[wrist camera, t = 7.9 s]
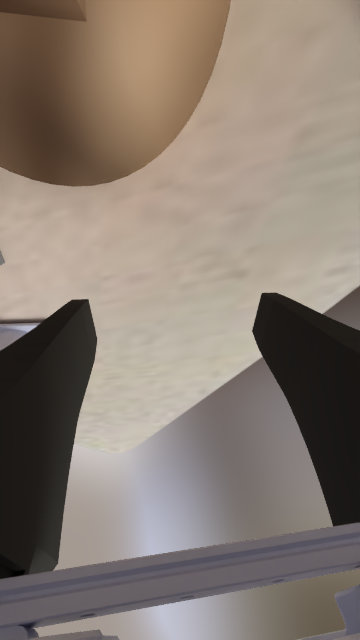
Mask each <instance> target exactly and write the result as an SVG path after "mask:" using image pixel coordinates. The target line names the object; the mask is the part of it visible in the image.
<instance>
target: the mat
mask: <svg viewBox="0 0 360 640" xmlns="http://www.w3.org/2000/svg"><path fill="white" fill-rule="evenodd" d="M3 263H5V261H4V259H3V256H2V254H1V251H0V265H2V264H3Z"/></svg>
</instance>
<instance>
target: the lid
mask: <svg viewBox="0 0 360 640" xmlns="http://www.w3.org/2000/svg"><path fill="white" fill-rule="evenodd" d="M230 1H231V0H0V167H2V168H4V169H6V170H8V171H10V172H13V173H16V174H19V175H21V176H24V177H27V178H30V179H32V180H37V181H41V182H45V183H49V184H55V185H64V186H92V185H98V184H103V183H108V182H112V181H114V180H117V179H120V178H123V177H126V176H128V175H130V174H132V173H133V172H135V171H137V170H139V169H141V168H143V167H144V166H146V165H147V164H148V163H149V162H151V161H152V160H153V159H155V158H156V157H157V156H159V155H160V154H161V153H162V152H163V151H164V150H165V149H166V148H167V147H168V146H169V145H170V144H171V143H172V142H173V141H174V139H175V138H176V137H177V135H178V134H179V133H180V131H181V130H182V129H183V127H184V126H185V125H186V123H187V122H188V120H189V119H190V117H191V115H192V114H193V112H194V110H195V108H196V107H197V105H198V103H199V101H200V100H201V97H202V95H203V93H204V90H205V88H206V86H207V84H208V81H209V79H210V77H211V75H212V72H213V68H214V65H215V62H216V59H217V56H218V53H219V50H220V47H221V44H222V39H223V35H224V31H225V26H226V22H227V17H228V13H229V8H230Z"/></svg>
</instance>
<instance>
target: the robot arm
mask: <svg viewBox="0 0 360 640" xmlns="http://www.w3.org/2000/svg"><path fill="white" fill-rule="evenodd" d="M252 332H253V335H254V337H255V340H256V343H257V345H258V348H259V350H260V352H261V354H262V356H263V358H264V359H265V361H266V363H267V365H268V366H269V368H270V370H271V372H272V373H273V375H274V377H275V379H276V380H277V382H278V384H279V386H280V387H281V389H282V391H283V393H284V395H285V397H286V399H287V401H288V403H289V405H290V407H291V409H292V412H293V414H294V416H295V419H296V421H297V423H298V425H299V428H300V431H301V433H302V436H303V438H304V441H305V443H306V445H307V448H308V451H309V454H310V456H311V459H312V462H313V465H314V468H315V470H316V473H317V476H318V479H319V482H320V485H321V488H322V491H323V494H324V498H325V501H326V504H327V507H328V510H329V514H330V517H331V520H332V524H333V527H327V528H321V529H316V530H308V531H303V532H296V533H289V534H283V535H277V536H271V537H265V538H259V539H251V540H245V541H239V542H233V543H226V544H220V545H213V546H207V547H201V548H194V549H188V550H182V551H176V552H169V553H163V554H156V555H150V556H144V557H137V558H132V559H125V560H118V561H112V562H106V563H99V564H93V565H87V566H81V567H74V568H68V569H62V570H55V571H53V570H54V568H55V567H56V565H57V564H58V558H59V547H60V539H61V530H62V521H63V512H64V505H65V498H66V490H67V483H68V475H69V469H70V462H71V456H72V450H73V444H74V438H75V433H76V427H77V421H78V417H79V413H80V409H81V406H82V402H83V399H84V395H85V392H86V388H87V385H88V381H89V378H90V374H91V371H92V367H93V364H94V360H95V353H96V345H97V336H96V332H95V327H94V323H93V318H92V314H91V309H90V305H89V300H88V299H82V300H71V301H70V302H68V303H67V304H65V305H64V306H63V307H61V308H60V309H59V310H57V311H56V312H55V313H54V314H52V315H51V316H50V317H48V318H47V319H46V320H44V321H43V322H42V323H17V324H0V640H119V638H118V637H117V636H104V635H102V633H101V632H100V630H92V631H85V632H76V633H69V634H60V635H52V636H45V637H39V636H38V633H37V632H36V631H35V629H32V628H38V627H43V626H48V625H54V624H59V623H65V622H71V621H76V620H81V619H87V618H92V617H98V616H103V615H109V614H114V613H120V612H125V611H131V610H136V609H142V608H147V607H152V606H158V605H164V604H169V603H174V602H180V601H185V600H191V599H196V598H201V597H208V596H213V595H219V594H224V593H229V592H235V591H240V590H246V589H251V588H256V587H262V586H268V585H273V584H279V583H284V582H290V581H295V580H300V579H306V578H312V577H317V576H323V575H328V574H334V573H339V572H345V571H350V570H356V569H360V331H359V330H356V329H354V328H352V327H349V326H347V325H345V324H343V323H340V322H338V321H336V320H333V319H331V318H329V317H327V316H325V315H323V314H321V313H319V312H317V311H315V310H312V309H310V308H308V307H306V306H304V305H302V304H300V303H298V302H296V301H294V300H292V299H290V298H288V297H285V296H283V295H281V294H278V293H262V295H261V298H260V302H259V306H258V310H257V314H256V318H255V322H254V326H253V330H252ZM335 600H336V603H337V605H338V608H339V610H340V612H341V615H342V617H343V619H344V622H345V630H340V631H335V632H330V633H326V634H321V635H316V636H311V637H306V638H301V639H297V640H360V585H358V586H355V587H352V588H350V589H347V590H344V591H341V592H338V593H336V594H335Z"/></svg>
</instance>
